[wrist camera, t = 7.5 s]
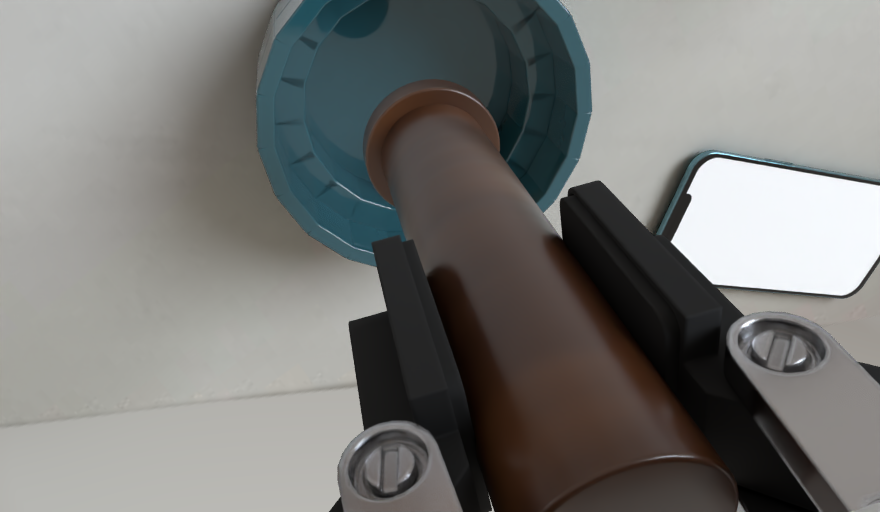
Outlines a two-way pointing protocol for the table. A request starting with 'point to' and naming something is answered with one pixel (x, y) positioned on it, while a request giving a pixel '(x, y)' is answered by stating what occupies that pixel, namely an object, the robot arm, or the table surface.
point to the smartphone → (775, 225)
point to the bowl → (394, 65)
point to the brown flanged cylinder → (532, 328)
